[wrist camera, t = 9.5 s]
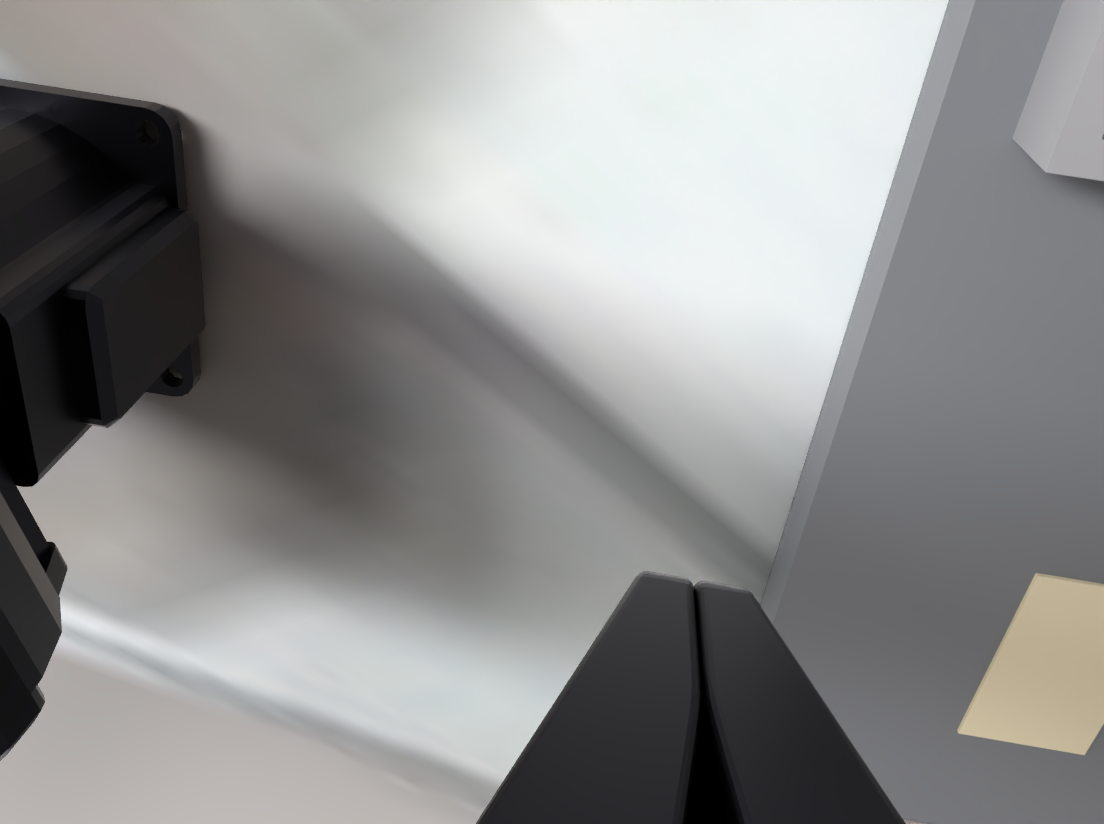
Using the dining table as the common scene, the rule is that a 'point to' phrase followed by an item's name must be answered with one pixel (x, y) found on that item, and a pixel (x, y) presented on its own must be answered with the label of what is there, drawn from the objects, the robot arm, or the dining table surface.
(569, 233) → the dining table surface
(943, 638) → the switch panel
